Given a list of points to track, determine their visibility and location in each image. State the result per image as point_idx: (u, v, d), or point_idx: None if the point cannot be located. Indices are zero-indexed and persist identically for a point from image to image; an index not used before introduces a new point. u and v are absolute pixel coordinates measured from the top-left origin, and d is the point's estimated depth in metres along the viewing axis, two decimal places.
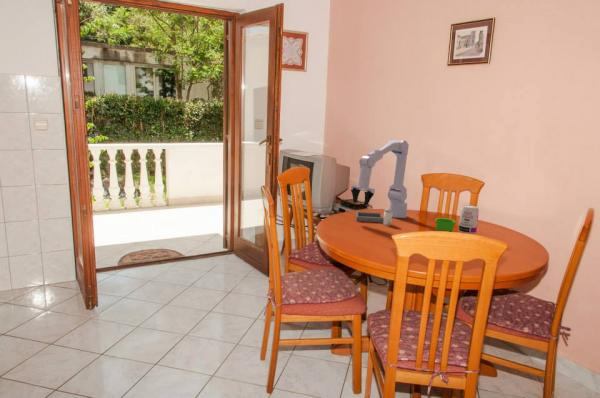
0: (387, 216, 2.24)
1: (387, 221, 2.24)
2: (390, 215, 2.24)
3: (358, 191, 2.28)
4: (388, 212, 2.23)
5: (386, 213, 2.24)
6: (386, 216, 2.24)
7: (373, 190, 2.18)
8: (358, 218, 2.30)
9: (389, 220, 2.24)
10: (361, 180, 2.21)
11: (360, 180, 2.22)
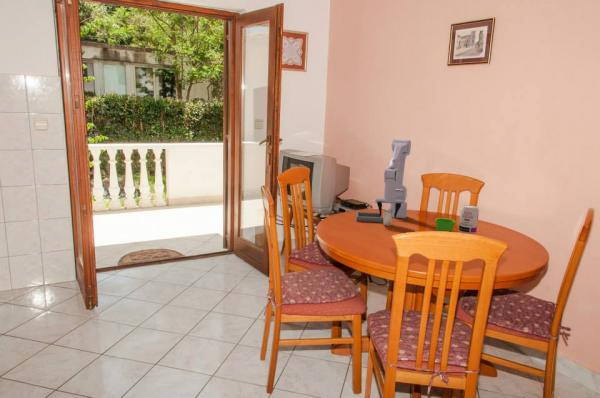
0: (387, 216, 2.24)
1: (387, 221, 2.24)
2: (390, 215, 2.24)
3: None
4: (388, 212, 2.23)
5: (386, 213, 2.24)
6: (386, 216, 2.24)
7: (403, 201, 2.23)
8: (358, 218, 2.30)
9: (389, 220, 2.24)
10: (391, 194, 2.20)
11: (389, 194, 2.21)
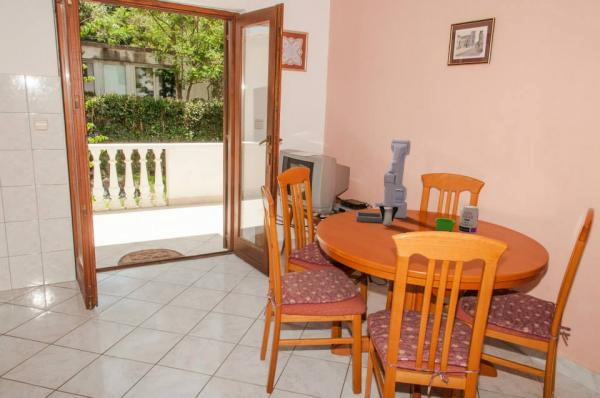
0: (387, 216, 2.24)
1: (387, 221, 2.24)
2: (390, 215, 2.24)
3: None
4: (388, 212, 2.23)
5: (386, 213, 2.24)
6: (386, 216, 2.24)
7: (402, 205, 2.24)
8: (358, 218, 2.30)
9: (389, 220, 2.24)
10: (390, 198, 2.21)
11: (389, 198, 2.21)
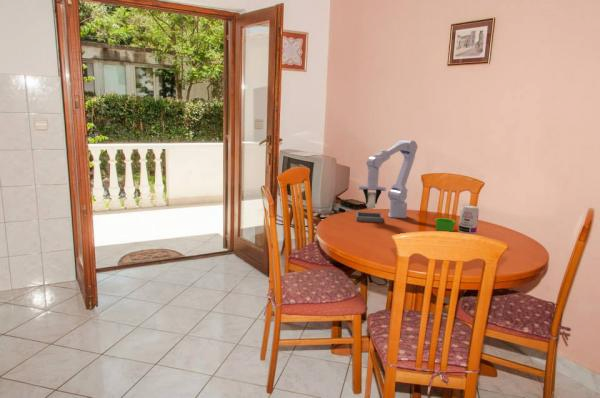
0: (371, 199, 2.31)
1: (371, 204, 2.31)
2: (374, 198, 2.31)
3: None
4: (372, 195, 2.30)
5: (370, 196, 2.31)
6: (370, 199, 2.31)
7: (385, 188, 2.31)
8: (358, 218, 2.30)
9: (373, 203, 2.31)
10: (374, 181, 2.28)
11: (372, 181, 2.28)
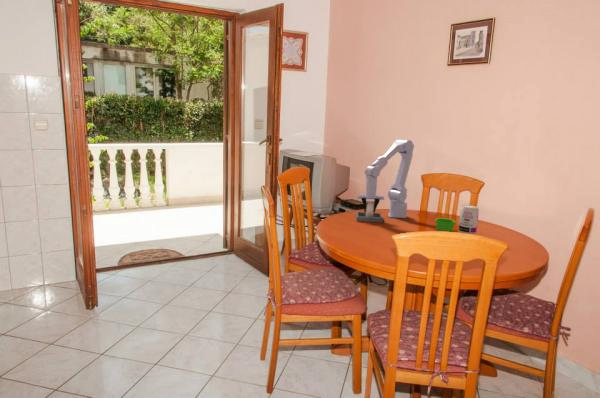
0: (369, 208, 2.32)
1: (369, 213, 2.33)
2: (372, 207, 2.33)
3: None
4: (370, 204, 2.32)
5: (368, 205, 2.32)
6: (368, 208, 2.33)
7: (383, 197, 2.33)
8: (358, 218, 2.30)
9: (371, 212, 2.33)
10: (372, 190, 2.30)
11: (371, 190, 2.30)
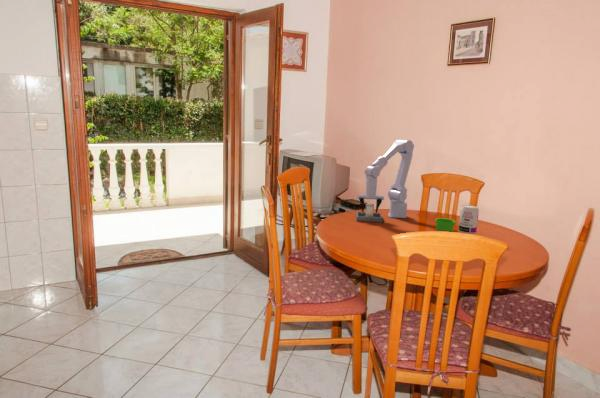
0: (369, 210, 2.33)
1: (369, 215, 2.33)
2: (372, 209, 2.33)
3: None
4: (370, 206, 2.32)
5: (368, 207, 2.33)
6: (368, 210, 2.33)
7: (383, 197, 2.33)
8: (358, 218, 2.30)
9: (371, 214, 2.33)
10: (372, 190, 2.30)
11: (371, 190, 2.30)
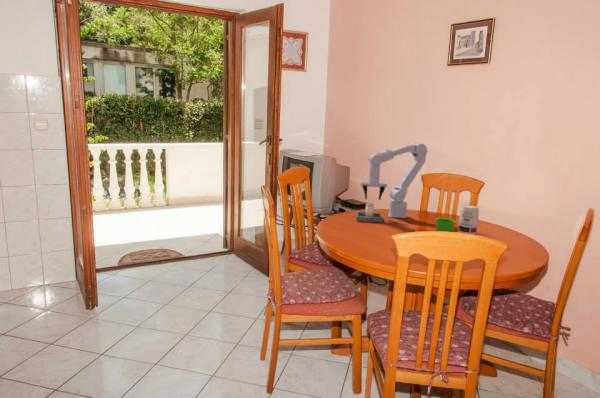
0: (369, 210, 2.33)
1: (369, 215, 2.33)
2: (372, 209, 2.33)
3: None
4: (370, 206, 2.32)
5: (368, 207, 2.33)
6: (368, 210, 2.33)
7: (386, 185, 2.39)
8: (358, 218, 2.30)
9: (371, 214, 2.33)
10: (375, 178, 2.37)
11: (374, 178, 2.37)
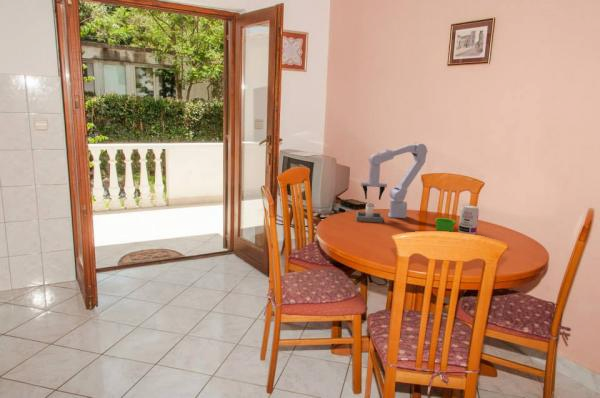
0: (369, 210, 2.33)
1: (369, 215, 2.33)
2: (372, 209, 2.33)
3: None
4: (370, 206, 2.32)
5: (368, 207, 2.33)
6: (368, 210, 2.33)
7: (386, 185, 2.39)
8: (358, 218, 2.30)
9: (371, 214, 2.33)
10: (375, 178, 2.37)
11: (374, 178, 2.37)
